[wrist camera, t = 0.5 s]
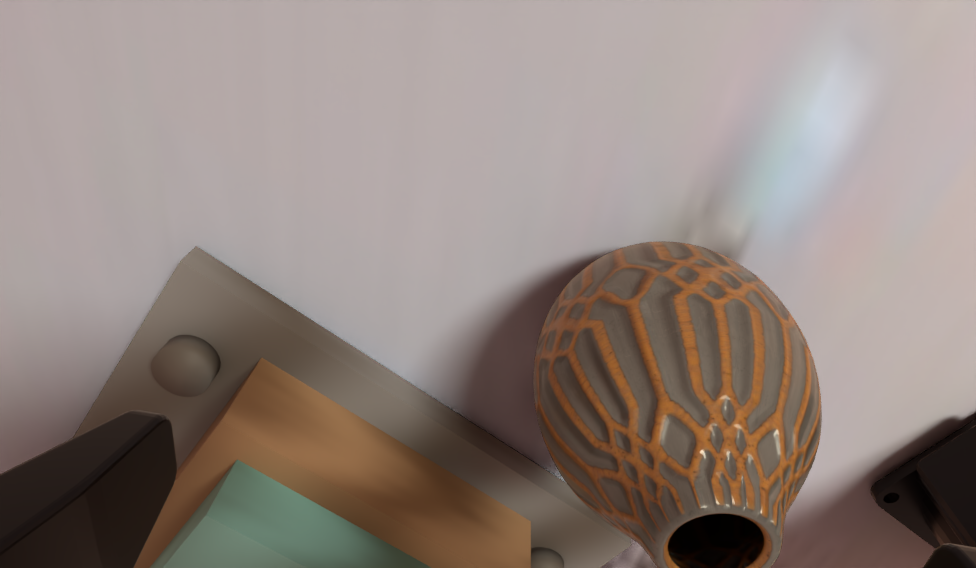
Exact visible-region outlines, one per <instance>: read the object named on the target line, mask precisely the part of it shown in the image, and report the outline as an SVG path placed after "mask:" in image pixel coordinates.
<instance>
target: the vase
mask: <svg viewBox="0 0 976 568" xmlns="http://www.w3.org/2000/svg"><path fill="white" fill-rule="evenodd" d="M533 388H534V401H535V409H536V414H537V418H538V422H539V426H540V429H541V433H542V435H543V438H544V441H545V444H546V446H547V448H548V451H549V453H550V455H551V457H552V459H553V461H554V463H555V465H556V467H557V468H558V470H559V472H560V474H561V475H562V477H563V478H564V480H565V481H566V483H567V484H568V485H569V487H570V488H571V489H572V491H573V492H574V493H575V494H576V496H577V497H578V498H579V499H580V500H581V501H582V502H583V503H584V504H585V505H586V506H587V507H588V508H589V509H591V510H592V511H593V512H594V513H595V514H597V515H598V516H599V517H601V518H602V519H603V520H605V521H606V522H607V523H609V524H610V525H612V526H613V527H615V528H616V529H618V530H619V531H621V532H622V533H624V534H625V535H627V536H628V537H630V538H631V539H633V540H635V541H636V542H638V543H639V544H640V545H641V546H642V547H643V548H644V550H645V551H646V552H647V554H648V555H649V556H650V558H651V559H652V560H653V562H654V563H655V564H656V566H657V567H658V568H770V567H771V566H772V565H773V564H774V562H775V561H776V559H777V558H778V556H779V553H780V550H781V546H782V540H783V530H784V521H785V516H786V513H787V512H788V510H789V508H790V506H791V505H792V503H793V502H794V500H795V498H796V496H797V494H798V493H799V491H800V489H801V487H802V485H803V484H804V482H805V480H806V478H807V476H808V473H809V471H810V469H811V467H812V464H813V462H814V459H815V456H816V452H817V449H818V445H819V440H820V433H821V421H822V412H821V396H820V388H819V382H818V377H817V372H816V368H815V364H814V361H813V357H812V355H811V352H810V350H809V347H808V344H807V342H806V339H805V338H804V336H803V334H802V332H801V330H800V328H799V327H798V325H797V323H796V322H795V320H794V318H793V317H792V315H791V314H790V313H789V311H788V310H787V309H786V307H785V306H784V305H783V303H782V302H781V301H780V300H779V298H778V297H777V296H776V295H775V294H774V293H773V292H772V291H771V290H770V288H769V287H768V286H767V285H766V284H765V283H764V282H763V281H762V280H760V279H759V278H758V277H757V276H756V275H754V274H753V273H752V272H750V271H749V270H747V269H746V268H744V267H743V266H741V265H740V264H738V263H737V262H735V261H733V260H732V259H730V258H728V257H725V256H723V255H721V254H719V253H716V252H714V251H711V250H709V249H706V248H703V247H699V246H696V245H691V244H685V243H678V242H646V243H640V244H635V245H630V246H627V247H624V248H621V249H618V250H615V251H613V252H611V253H608V254H606V255H604V256H602V257H601V258H599V259H597V260H596V261H594V262H592V263H591V264H590V265H588V266H587V267H586V268H584V269H583V270H582V271H581V272H580V273H578V274H577V275H576V276H575V277H574V278H573V279H572V280H571V281H570V282H569V283H568V284H567V285H566V287H565V288H564V289H563V290H562V292H561V293H560V295H559V296H558V298H557V299H556V301H555V302H554V304H553V306H552V307H551V309H550V311H549V313H548V315H547V317H546V319H545V322H544V325H543V327H542V330H541V332H540V335H539V339H538V343H537V348H536V355H535V362H534V378H533Z"/></svg>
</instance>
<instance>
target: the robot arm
mask: <svg viewBox="0 0 976 568" xmlns="http://www.w3.org/2000/svg"><path fill="white" fill-rule="evenodd" d="M176 474H177V461H176V453H175V445H174V437H173V429H172V424H171V421H170V419H169V418H168V417H167V416H166V415H164V414H160V413H154V412H148V411H142V410H131V411H128V412H125V413H123V414H121V415H119V416H117V417H115V418H113V419H111V420H109V421H107V422H105V423H103V424H101V425H99V426H97V427H95V428H93V429H91V430H89V431H87V432H85V433H83V434H81V435H79V436H77V437H75V438H73V439H71V440H69V441H67V442H65V443H63V444H61V445H58V446H56V447H54V448H52V449H50V450H48V451H46V452H44V453H42V454H40V455H38V456H36V457H34V458H32V459H30V460H28V461H26V462H24V463H22V464H20V465H18V466H16V467H14V468H12V469H10V470H8V471H6V472H4V473H2V474H0V568H134V566H135V564H136V562H137V560H138V558H139V556H140V554H141V552H142V550H143V548H144V545H145V543H146V541H147V539H148V537H149V535H150V533H151V531H152V529H153V527H154V525H155V523H156V521H157V519H158V516H159V514H160V512H161V510H162V508H163V506H164V504H165V502H166V500H167V498H168V496H169V494H170V492H171V490H172V487H173V485H174V482H175V479H176ZM871 495H872V496H873V498H874V500H875V501H876V503H877V504H878V505H879V506H880V507H881V508H882V509H884V510H885V511H886V512H888V513H889V514H890V515H892V516H893V517H894V518H896V519H897V520H898V521H900V522H901V523H902V524H904V525H905V526H906V527H908V528H909V529H910V530H912V531H913V532H914V533H916V534H917V535H918V536H920V537H921V538H922V539H924V540H925V541H926V542H928V543H929V544H930V545H932V546H933V547H934V548H936V549H935V551H934V552H933V554H932V555H931V557H930V558H929V559H928V561H927V562H926V564H925V565H924V567H923V568H976V419H975V420H974V421H972V422H970V423H969V424H967V425H966V426H964V427H963V428H961V429H959V430H958V431H956V432H955V433H953V434H952V435H950V436H948V437H947V438H945V439H944V440H942V441H941V442H939V443H937V444H936V445H934V446H933V447H931V448H930V449H928V450H926V451H925V452H923V453H922V454H920V455H919V456H917V457H915V458H914V459H912V460H911V461H909V462H908V463H906V464H904V465H903V466H901V467H900V468H898V469H897V470H895V471H893V472H892V473H890V474H889V475H887V476H886V477H884V478H882V479H881V480H879V481H878V482H876V483H875V484H874V485H873V486H872V488H871Z"/></svg>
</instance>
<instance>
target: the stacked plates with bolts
mask: <svg viewBox="0 0 976 568" xmlns="http://www.w3.org/2000/svg"><path fill="white" fill-rule="evenodd" d="M131 410H142V411H148V412H154V413H160V414H164V415H166V416H167V417H168V418H169V419H170V421H171V424H172V429H173V437H174V445H175V453H176V461H177V474H176V479H175V482H174V485H173V487H172V490H171V492H170V494H169V496H168V498H167V500H166V502H165V504H164V506H163V508H162V510H161V512H160V514H159V516H158V519H157V521H156V523H155V525H154V527H153V529H152V531H151V533H150V535H149V537H148V539H147V541H146V543H145V545H144V548H143V550H142V552H141V554H140V556H139V558H138V560H137V562H136V564H135V566H134V568H600V567H602V566H603V565H605V564H606V563H607V562H609V561H610V560H611V559H613V558H614V557H616V556H617V555H618V554H620V553H621V552H623V551H624V550H625V549H627V548H628V547H630V546H631V545H632V544H631V538H630V537H628V536H627V535H625V534H624V533H622V532H621V531H619V530H618V529H616V528H615V527H613V526H612V525H610V524H609V523H607V522H606V521H605V520H603V519H602V518H601V517H599V516H598V515H597V514H595V513H594V512H593V511H592V510H591V509H589V508H588V507H587V506H586V505H585V504H584V503H583V502H582V501H581V500H580V499H579V498H578V497H577V496H576V494H575V493H574V492H573V491H572V489H571V488H570V487H569V485H568V484H567V483H565V482H564V481H562V480H560V479H559V478H557V477H556V476H554V475H553V474H551V473H549V472H548V471H546V470H545V469H543V468H542V467H540V466H539V465H537V464H535V463H534V462H532V461H531V460H529V459H528V458H526V457H525V456H523V455H521V454H520V453H518V452H517V451H515V450H514V449H512V448H510V447H509V446H507V445H506V444H504V443H503V442H501V441H500V440H498V439H496V438H495V437H493V436H492V435H490V434H489V433H487V432H485V431H484V430H482V429H481V428H479V427H478V426H476V425H475V424H473V423H471V422H470V421H468V420H467V419H465V418H464V417H462V416H460V415H459V414H457V413H456V412H454V411H453V410H451V409H450V408H448V407H446V406H445V405H443V404H442V403H440V402H439V401H437V400H435V399H434V398H432V397H431V396H429V395H428V394H426V393H425V392H423V391H421V390H420V389H418V388H417V387H415V386H414V385H412V384H411V383H409V382H407V381H406V380H404V379H403V378H401V377H400V376H398V375H396V374H395V373H393V372H392V371H390V370H389V369H387V368H386V367H384V366H382V365H381V364H379V363H378V362H376V361H375V360H373V359H371V358H370V357H368V356H367V355H365V354H364V353H362V352H361V351H359V350H357V349H356V348H354V347H353V346H351V345H350V344H348V343H346V342H345V341H343V340H342V339H340V338H339V337H337V336H336V335H334V334H332V333H331V332H329V331H328V330H326V329H325V328H323V327H321V326H320V325H318V324H317V323H315V322H314V321H312V320H311V319H309V318H307V317H306V316H304V315H303V314H301V313H300V312H298V311H297V310H295V309H293V308H292V307H290V306H289V305H287V304H286V303H284V302H282V301H281V300H279V299H278V298H276V297H275V296H273V295H272V294H270V293H268V292H267V291H265V290H264V289H262V288H261V287H259V286H257V285H256V284H254V283H253V282H251V281H250V280H248V279H247V278H245V277H243V276H242V275H240V274H239V273H237V272H236V271H234V270H232V269H231V268H229V267H228V266H226V265H225V264H223V263H222V262H220V261H218V260H217V259H215V258H214V257H212V256H211V255H209V254H207V253H206V252H204V251H203V250H201V249H200V248H198V247H197V246H196V247H195V248H194V249H193V250H192V251H191V252H190V253H189V254H188V255H186V256H185V257H184V258H183V259H182V260H181V261H180V263H179V264H178V266H177V268H176V269H175V271H174V273H173V274H172V276H171V278H170V279H169V281H168V283H167V284H166V286H165V287H164V289H163V291H162V292H161V294H160V296H159V297H158V299H157V301H156V302H155V304H154V306H153V307H152V309H151V311H150V312H149V314H148V315H147V317H146V319H145V320H144V322H143V324H142V325H141V327H140V329H139V330H138V332H137V334H136V335H135V337H134V338H133V340H132V342H131V343H130V345H129V347H128V348H127V350H126V352H125V353H124V355H123V357H122V358H121V360H120V361H119V363H118V365H117V366H116V368H115V370H114V371H113V373H112V375H111V376H110V378H109V380H108V381H107V383H106V384H105V386H104V388H103V389H102V391H101V393H100V394H99V396H98V398H97V399H96V401H95V403H94V404H93V406H92V407H91V409H90V411H89V412H88V414H87V416H86V417H85V419H84V421H83V422H82V424H81V426H80V427H79V429H78V430H77V432H76V434H75V435H74V437H73V438H75V437H77V436H79V435H81V434H83V433H85V432H87V431H89V430H91V429H93V428H95V427H97V426H99V425H101V424H103V423H105V422H107V421H109V420H111V419H113V418H115V417H117V416H119V415H121V414H123V413H125V412H128V411H131Z"/></svg>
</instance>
